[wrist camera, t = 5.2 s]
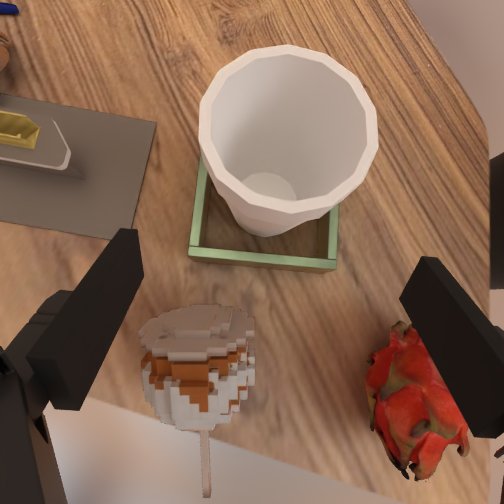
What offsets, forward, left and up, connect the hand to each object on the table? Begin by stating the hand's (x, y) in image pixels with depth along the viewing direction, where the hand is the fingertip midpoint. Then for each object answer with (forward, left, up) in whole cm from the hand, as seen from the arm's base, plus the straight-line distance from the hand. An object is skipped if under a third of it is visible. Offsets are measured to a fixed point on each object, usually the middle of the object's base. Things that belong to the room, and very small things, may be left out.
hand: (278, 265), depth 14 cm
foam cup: (0, -7, -13) cm, 15 cm away
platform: (+20, -9, -13) cm, 26 cm away
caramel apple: (+4, +3, -7) cm, 9 cm away
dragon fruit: (-13, +8, -13) cm, 20 cm away
